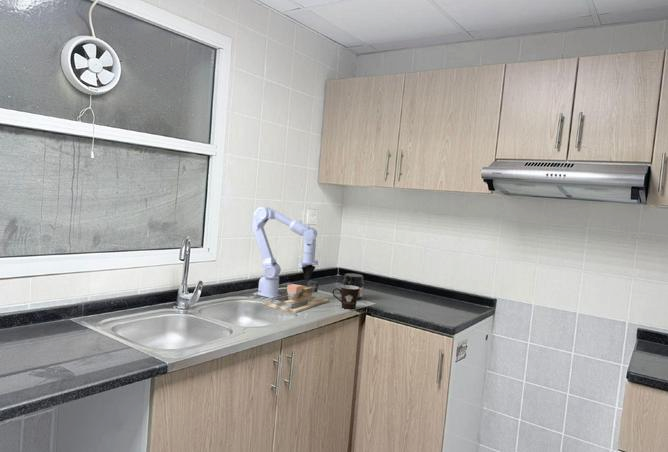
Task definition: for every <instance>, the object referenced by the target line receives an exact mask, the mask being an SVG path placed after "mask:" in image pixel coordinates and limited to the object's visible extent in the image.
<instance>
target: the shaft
mask: <svg viewBox="0 0 668 452" xmlns="http://www.w3.org/2000/svg"><path fill="white" fill-rule="evenodd" d="M307 287H312V294H313V293H318V289H319V281H315V280H311V279H310V281H307ZM301 293H302V292H301ZM301 293H297V294H295V293H290V292H287V295H288V297H292V298H295V297H298V296H301Z"/></svg>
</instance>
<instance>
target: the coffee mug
mask: <svg viewBox="0 0 668 452" xmlns="http://www.w3.org/2000/svg"><path fill="white" fill-rule="evenodd" d="M335 291H339V293H340V296H341V299H340V298H339V297H337V296H336V294H335ZM358 293H359V287H357V286H352V285H343V284H342V285H341V286H340V289H339V288H338V287H337V288H334V289H333V290H332V295H333V297H334V298H336V299H337V300H338V301H339V302H340V303H341V309H342V308H344V309H343V310H345V309H355V310H356V306H357V304H358V303H357V302H358V300H357V298H358Z"/></svg>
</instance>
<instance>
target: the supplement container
mask: <svg viewBox="0 0 668 452" xmlns="http://www.w3.org/2000/svg"><path fill="white" fill-rule="evenodd" d="M363 280H364V276H363V275H362V274H360V273H359V274H358V273H344V279H343V281H342V282H343V283H342V286H343V285H352V286H357V287H359V293H358V298H357V301H360V300H362V299H363V292H364V283H365V282H364V281H363Z"/></svg>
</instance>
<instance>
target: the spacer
mask: <svg viewBox="0 0 668 452" xmlns="http://www.w3.org/2000/svg"><path fill="white" fill-rule="evenodd" d="M302 286H303V285H302ZM302 286H301V284H297V283H296V284H294V283H292V284H288V285H287V287H286V292H287V293H288V292H290V293H295V294H297V293H301V292H302Z"/></svg>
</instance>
